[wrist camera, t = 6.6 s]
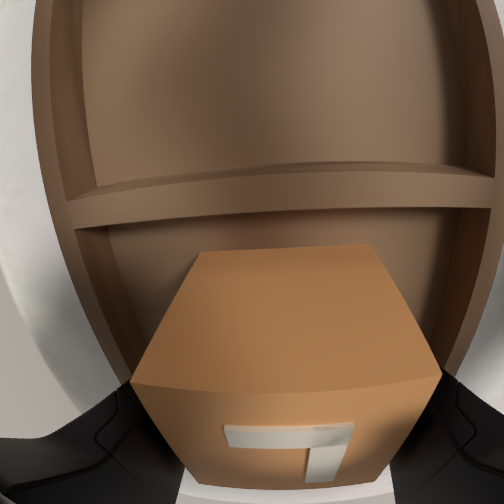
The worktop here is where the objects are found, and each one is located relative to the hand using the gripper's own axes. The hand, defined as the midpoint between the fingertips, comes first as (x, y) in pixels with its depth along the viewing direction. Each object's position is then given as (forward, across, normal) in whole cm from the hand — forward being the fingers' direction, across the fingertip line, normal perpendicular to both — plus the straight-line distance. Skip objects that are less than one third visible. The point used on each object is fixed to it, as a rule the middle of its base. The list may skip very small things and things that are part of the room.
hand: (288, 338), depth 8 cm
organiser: (+2, 0, -9) cm, 9 cm away
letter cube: (+1, 0, 0) cm, 1 cm away
